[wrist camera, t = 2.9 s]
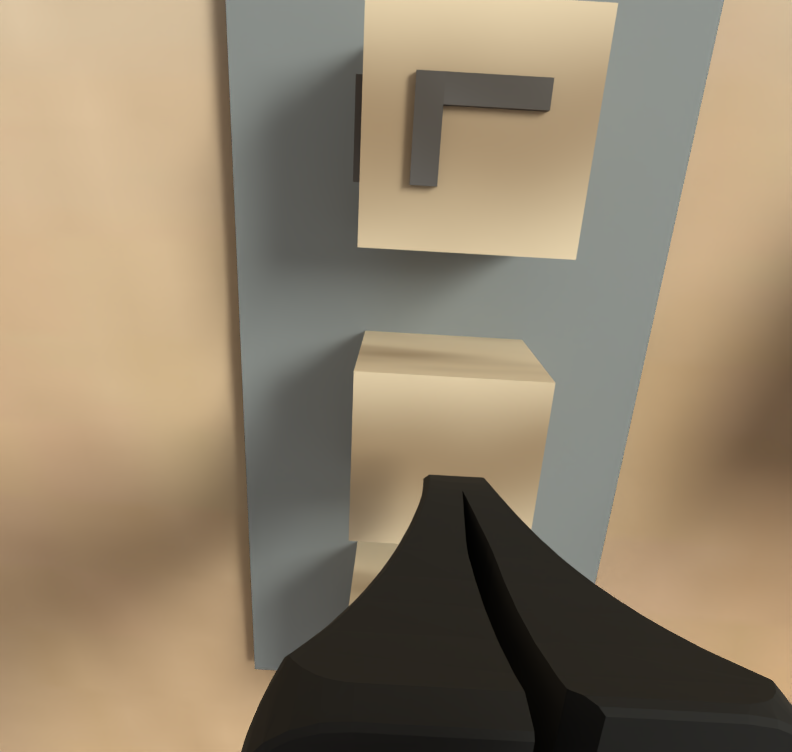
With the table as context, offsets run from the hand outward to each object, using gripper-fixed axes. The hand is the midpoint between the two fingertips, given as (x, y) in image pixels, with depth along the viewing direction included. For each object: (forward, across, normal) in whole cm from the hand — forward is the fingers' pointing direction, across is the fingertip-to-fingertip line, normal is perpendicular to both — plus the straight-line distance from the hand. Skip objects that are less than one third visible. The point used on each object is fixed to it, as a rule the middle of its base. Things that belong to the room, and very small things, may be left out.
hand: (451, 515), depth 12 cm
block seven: (+6, 0, -8) cm, 10 cm away
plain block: (+6, 0, 0) cm, 6 cm away
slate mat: (+7, 0, 0) cm, 7 cm away
